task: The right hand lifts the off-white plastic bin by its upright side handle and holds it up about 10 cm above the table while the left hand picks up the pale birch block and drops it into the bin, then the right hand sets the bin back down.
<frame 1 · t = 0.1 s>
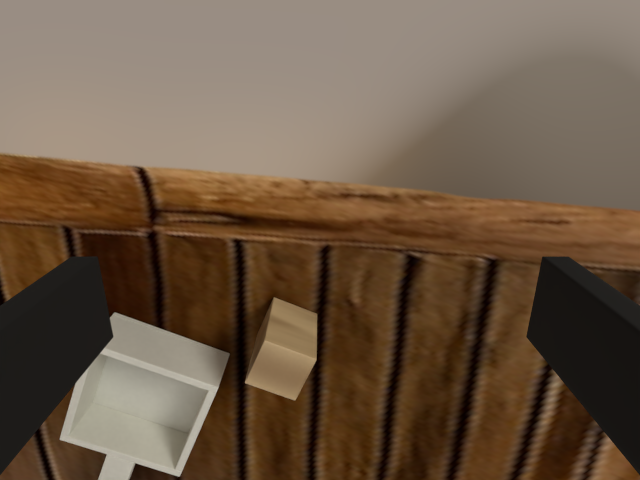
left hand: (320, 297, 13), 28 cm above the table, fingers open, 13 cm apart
birch block: (286, 324, 45), on the table
handled bin: (156, 378, 47), on the table
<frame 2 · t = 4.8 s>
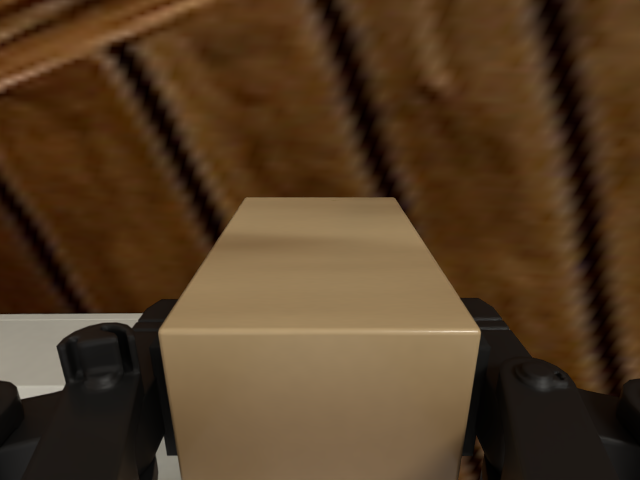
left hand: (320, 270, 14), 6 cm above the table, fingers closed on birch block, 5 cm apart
birch block: (319, 265, 15), point 6 cm above the table, touching left hand
handled bin: (129, 408, 25), on the table, touching right hand
when the left hand's fingers open (20 cm above the table, at t = 9.7 s): birch block drops 9 cm, resting on handled bin.
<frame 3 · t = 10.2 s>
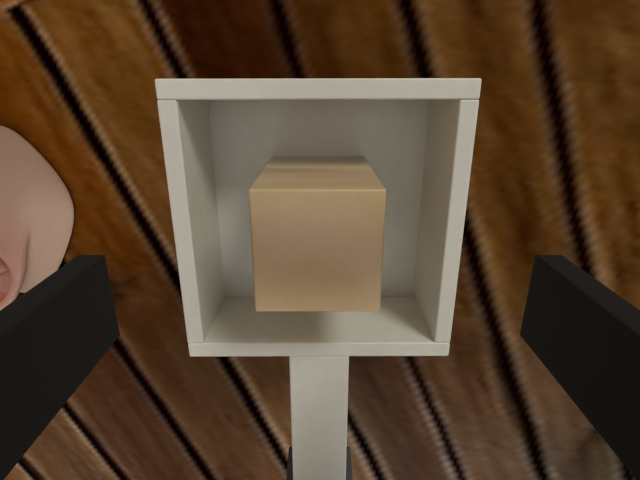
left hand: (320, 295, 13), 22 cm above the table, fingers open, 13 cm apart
birch block: (318, 201, 23), point 10 cm above the table, touching handled bin
handled bin: (318, 202, 24), point 10 cm above the table, touching birch block, right hand
anatomical model: (6, 212, 34), on the table
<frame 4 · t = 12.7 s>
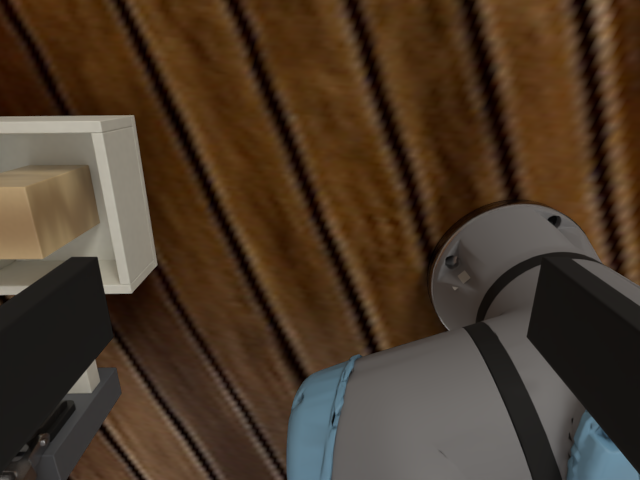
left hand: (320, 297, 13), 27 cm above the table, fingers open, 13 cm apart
birch block: (65, 194, 35), point 4 cm above the table, touching handled bin
handled bin: (70, 195, 35), point 3 cm above the table, touching birch block, right hand
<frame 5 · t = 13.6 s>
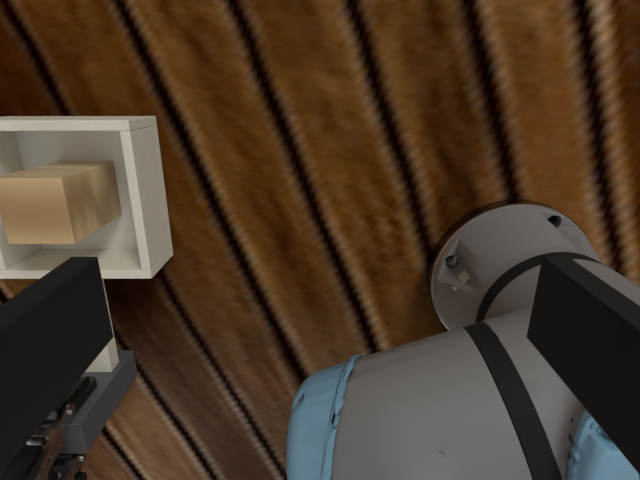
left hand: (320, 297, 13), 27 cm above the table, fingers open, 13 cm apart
birch block: (90, 188, 38), point 1 cm above the table, touching handled bin
handled bin: (95, 189, 39), on the table, touching birch block
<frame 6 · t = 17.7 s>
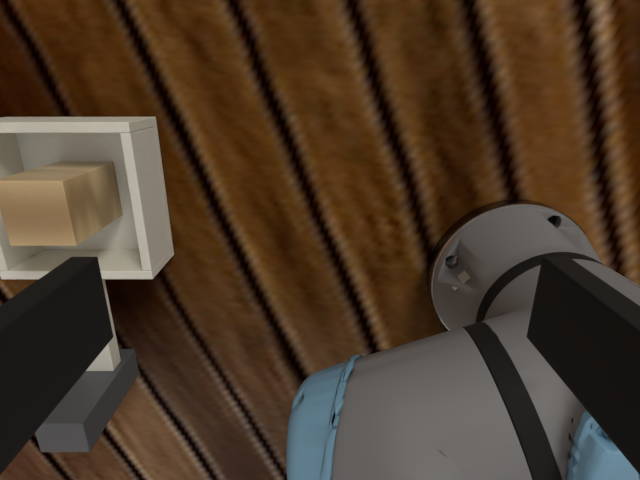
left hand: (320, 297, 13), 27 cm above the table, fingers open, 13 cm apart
birch block: (91, 188, 38), point 1 cm above the table, touching handled bin
handled bin: (95, 189, 39), on the table, touching birch block
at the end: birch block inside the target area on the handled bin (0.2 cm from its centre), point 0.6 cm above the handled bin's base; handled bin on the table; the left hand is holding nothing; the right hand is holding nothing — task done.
